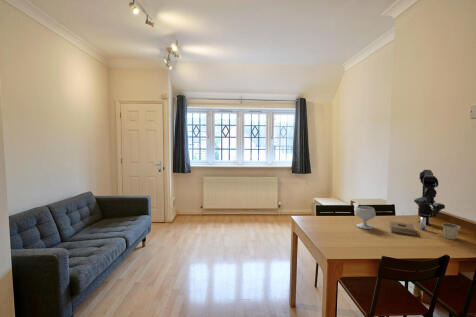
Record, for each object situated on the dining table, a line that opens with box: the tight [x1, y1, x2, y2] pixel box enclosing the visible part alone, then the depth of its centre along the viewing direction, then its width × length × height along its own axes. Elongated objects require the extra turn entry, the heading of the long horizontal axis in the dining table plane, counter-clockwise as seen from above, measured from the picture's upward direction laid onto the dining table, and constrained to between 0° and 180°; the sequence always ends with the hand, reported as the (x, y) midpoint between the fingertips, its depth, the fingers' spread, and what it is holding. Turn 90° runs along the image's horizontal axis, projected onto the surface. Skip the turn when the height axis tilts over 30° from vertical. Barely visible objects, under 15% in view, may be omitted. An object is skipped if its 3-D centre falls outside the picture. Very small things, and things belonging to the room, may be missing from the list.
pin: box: [419, 217, 427, 231], centre depth 179 cm, size 3×3×9 cm
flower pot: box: [441, 222, 461, 240], centre depth 163 cm, size 9×9×9 cm
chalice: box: [354, 205, 377, 230], centre depth 186 cm, size 14×14×15 cm
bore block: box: [389, 220, 417, 237], centre depth 177 cm, size 14×14×4 cm
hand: (428, 215), depth 173 cm, fingers open, 9 cm apart
